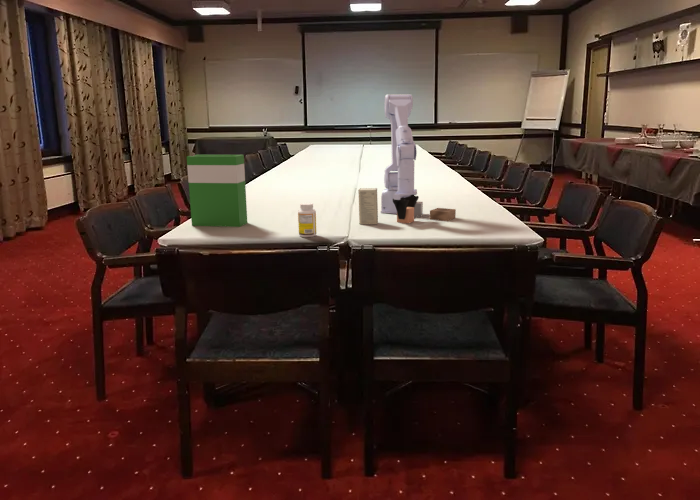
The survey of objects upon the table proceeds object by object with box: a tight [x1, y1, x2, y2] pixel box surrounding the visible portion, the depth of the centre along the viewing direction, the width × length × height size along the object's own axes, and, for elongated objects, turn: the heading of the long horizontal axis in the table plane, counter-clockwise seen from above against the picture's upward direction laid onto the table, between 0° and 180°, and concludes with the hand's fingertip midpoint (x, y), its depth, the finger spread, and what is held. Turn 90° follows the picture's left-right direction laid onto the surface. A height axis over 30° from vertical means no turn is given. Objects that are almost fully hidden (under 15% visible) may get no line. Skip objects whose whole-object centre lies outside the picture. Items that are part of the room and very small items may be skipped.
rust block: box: [396, 207, 415, 224], centre depth 202 cm, size 4×4×5 cm
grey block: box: [414, 201, 424, 218], centre depth 214 cm, size 4×4×5 cm
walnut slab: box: [429, 207, 457, 222], centre depth 208 cm, size 7×7×4 cm
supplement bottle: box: [297, 202, 317, 238], centre depth 180 cm, size 6×6×10 cm
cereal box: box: [186, 154, 248, 228], centre depth 200 cm, size 18×7×24 cm, turn 79°
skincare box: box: [358, 187, 379, 225], centre depth 199 cm, size 6×4×12 cm
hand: (405, 217), depth 203 cm, fingers open, 6 cm apart
